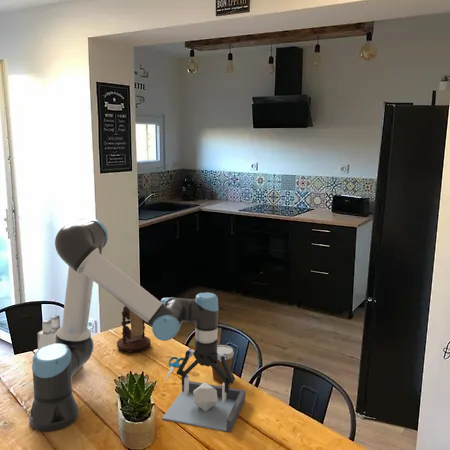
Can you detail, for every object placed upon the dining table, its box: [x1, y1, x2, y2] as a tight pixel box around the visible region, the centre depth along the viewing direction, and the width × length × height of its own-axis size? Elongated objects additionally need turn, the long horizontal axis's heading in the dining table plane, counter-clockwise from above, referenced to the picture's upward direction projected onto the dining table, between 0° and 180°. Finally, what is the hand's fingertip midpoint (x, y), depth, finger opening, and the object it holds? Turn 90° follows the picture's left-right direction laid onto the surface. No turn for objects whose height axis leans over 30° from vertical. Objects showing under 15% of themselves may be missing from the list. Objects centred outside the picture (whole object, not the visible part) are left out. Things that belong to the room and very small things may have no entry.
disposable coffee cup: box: [211, 344, 235, 383], centre depth 179 cm, size 10×10×12 cm
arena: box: [161, 380, 246, 433], centre depth 158 cm, size 20×24×4 cm
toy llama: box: [36, 314, 84, 367], centre depth 184 cm, size 8×18×20 cm, turn 74°
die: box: [193, 382, 218, 411], centre depth 159 cm, size 8×9×10 cm
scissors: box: [163, 356, 185, 382], centre depth 186 cm, size 7×1×20 cm
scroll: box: [116, 305, 151, 354], centre depth 204 cm, size 15×15×20 cm
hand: (205, 397), depth 159 cm, fingers open, 13 cm apart
